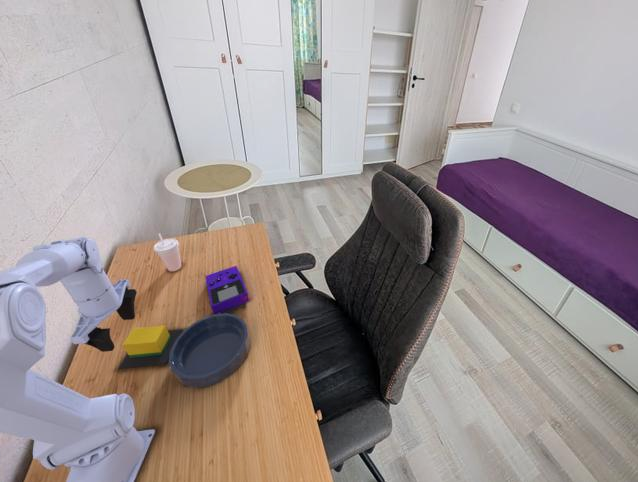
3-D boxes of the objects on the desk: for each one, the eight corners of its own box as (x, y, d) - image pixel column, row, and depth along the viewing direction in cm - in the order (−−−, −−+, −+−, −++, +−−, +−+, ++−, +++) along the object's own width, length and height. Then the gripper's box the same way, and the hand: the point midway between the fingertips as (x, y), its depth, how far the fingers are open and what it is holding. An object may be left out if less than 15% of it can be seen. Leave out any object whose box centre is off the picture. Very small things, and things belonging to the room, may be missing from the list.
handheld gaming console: (236, 264, 91) (247, 291, 80) (239, 277, 93) (250, 305, 82) (204, 275, 86) (210, 305, 75) (208, 288, 89) (215, 319, 77)
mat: (166, 364, 66) (166, 363, 66) (119, 369, 65) (118, 368, 65) (183, 330, 74) (182, 329, 74) (140, 334, 73) (139, 332, 72)
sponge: (162, 354, 68) (156, 342, 65) (130, 357, 67) (122, 345, 64) (171, 337, 72) (165, 325, 69) (140, 340, 71) (133, 328, 68)
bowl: (241, 384, 64) (237, 373, 61) (161, 394, 61) (154, 383, 59) (256, 321, 78) (253, 310, 75) (191, 327, 75) (186, 316, 73)
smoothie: (164, 263, 94) (150, 229, 87) (187, 258, 97) (175, 225, 90) (161, 276, 89) (146, 241, 82) (185, 271, 92) (172, 237, 85)
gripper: (94, 266, 61) (119, 307, 68) (36, 324, 49) (73, 368, 56) (131, 264, 62) (151, 305, 69) (83, 320, 50) (114, 364, 57)
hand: (119, 333), depth 63 cm, fingers open, 7 cm apart
